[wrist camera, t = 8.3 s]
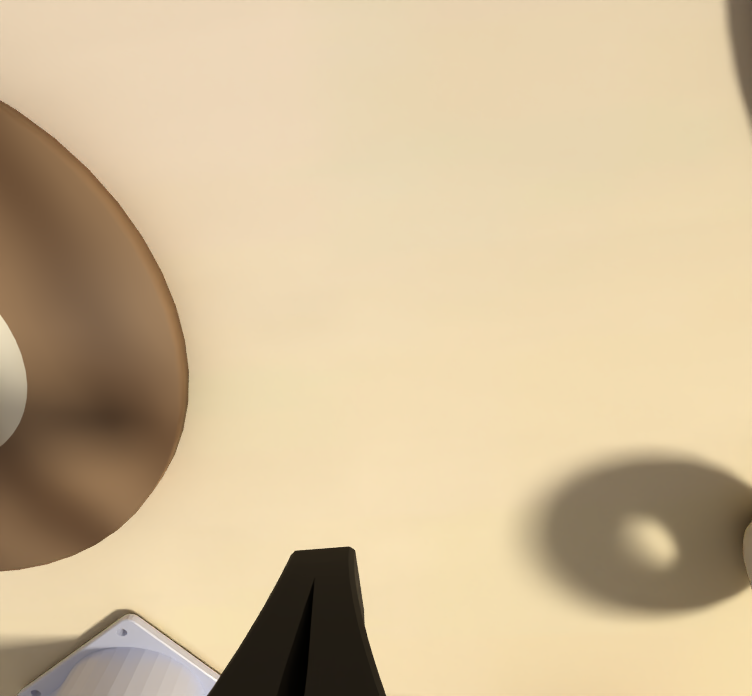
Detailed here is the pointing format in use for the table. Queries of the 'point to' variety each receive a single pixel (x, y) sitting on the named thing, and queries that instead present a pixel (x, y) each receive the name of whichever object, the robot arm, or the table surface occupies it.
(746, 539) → the donut
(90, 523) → the turntable
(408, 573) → the table surface
